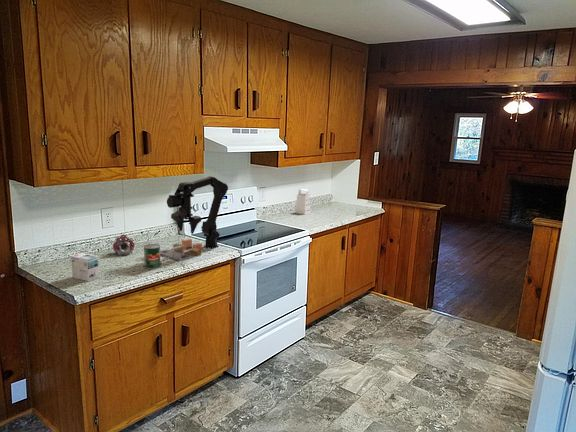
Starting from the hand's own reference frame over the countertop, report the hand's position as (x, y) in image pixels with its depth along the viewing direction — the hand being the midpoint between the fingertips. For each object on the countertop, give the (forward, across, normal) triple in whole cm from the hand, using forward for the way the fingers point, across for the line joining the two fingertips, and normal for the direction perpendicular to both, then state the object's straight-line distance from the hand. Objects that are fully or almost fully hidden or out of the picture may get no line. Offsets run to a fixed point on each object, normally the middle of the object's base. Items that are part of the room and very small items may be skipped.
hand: (186, 232), depth 248 cm
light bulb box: (+11, -4, -59) cm, 60 cm away
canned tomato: (+11, +6, -29) cm, 31 cm away
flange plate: (+12, 0, -10) cm, 15 cm away
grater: (+16, -14, +144) cm, 146 cm away
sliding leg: (+11, 0, -4) cm, 12 cm away
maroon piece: (+11, -24, -24) cm, 36 cm away
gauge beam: (+12, 0, -4) cm, 12 cm away
